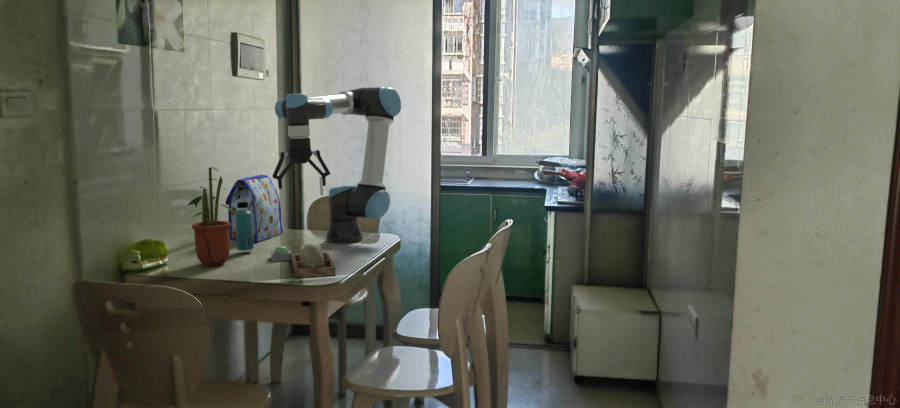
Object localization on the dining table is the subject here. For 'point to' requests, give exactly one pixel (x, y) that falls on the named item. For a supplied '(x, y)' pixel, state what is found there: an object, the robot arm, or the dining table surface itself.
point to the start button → (281, 249)
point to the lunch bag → (256, 206)
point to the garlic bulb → (312, 257)
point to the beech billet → (311, 244)
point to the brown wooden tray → (302, 271)
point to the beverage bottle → (244, 228)
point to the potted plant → (211, 229)
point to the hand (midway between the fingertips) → (302, 196)
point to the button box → (281, 256)
